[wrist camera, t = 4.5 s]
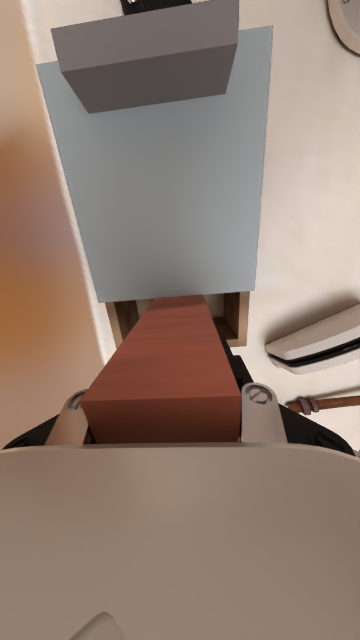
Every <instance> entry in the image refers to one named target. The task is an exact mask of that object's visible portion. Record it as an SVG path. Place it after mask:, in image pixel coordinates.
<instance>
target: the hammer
mask: <svg viewBox="0 0 360 640" xmlns="http://www.w3.org/2000/svg"><path fill="white" fill-rule="evenodd" d="M298 400H299V402H297V403H289V404H287V406H288V408H289V409H291V410H292V411H294V412H296V413H301V412H303V414H304V415H311V411H313V412H319V410H322V409H330V408H338V407H347V406H357V405H360V396H350V397H340V398H330V399H321V400H314V399H309V401H306V400H305V399H299V398H298Z"/></svg>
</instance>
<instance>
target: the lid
mask: <svg viewBox="0 0 360 640" xmlns="http://www.w3.org/2000/svg"><path fill="white" fill-rule="evenodd" d="M238 24H239V0H210V1H204V2H199V3H193V4H187V5H182V6H176V7H170V8H165V9H159V10H154V11H148V12H142V13H137V14H131V15H125V16H120V17H114V18H109V19H103V20H97V21H92V22H86V23H80V24H75V25H69V26H64V27H58V28H52V29H51V33H52V37H53V41H54V46H55V50H56V54H57V59H58V61H55V62H49V63H43V64H37V65H36V68H37V71H38V75H39V79H40V83H41V86H42V90H43V94H44V98H45V102H46V105H47V109H48V113H49V117H50V120H51V124H52V128H53V132H54V136H55V139H56V143H57V147H58V151H59V154H60V158H61V162H62V166H63V170H64V173H65V177H66V181H67V185H68V189H69V192H70V196H71V200H72V204H73V207H74V211H75V215H76V219H77V223H78V226H79V230H80V234H81V238H82V241H83V245H84V249H85V253H86V257H87V260H88V264H89V268H90V272H91V276H92V279H93V283H94V287H95V291H96V294H97V298H98V302H99V303H103V302H115V301H128V300H141V299H154V298H166V297H179V296H192V295H205V294H217V293H230V292H243V291H255V278H256V264H257V250H258V236H259V222H260V207H261V193H262V179H263V165H264V151H265V137H266V123H267V109H268V95H269V81H270V67H271V53H272V39H273V26H267V27H260V28H254V29H248V30H242V31H238Z"/></svg>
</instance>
